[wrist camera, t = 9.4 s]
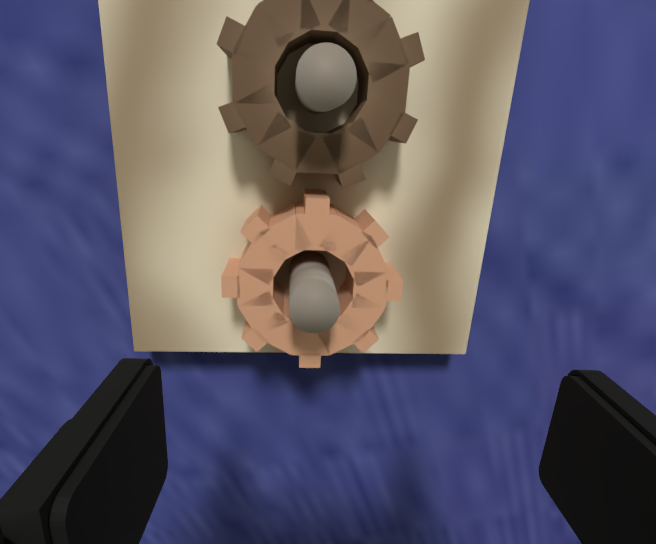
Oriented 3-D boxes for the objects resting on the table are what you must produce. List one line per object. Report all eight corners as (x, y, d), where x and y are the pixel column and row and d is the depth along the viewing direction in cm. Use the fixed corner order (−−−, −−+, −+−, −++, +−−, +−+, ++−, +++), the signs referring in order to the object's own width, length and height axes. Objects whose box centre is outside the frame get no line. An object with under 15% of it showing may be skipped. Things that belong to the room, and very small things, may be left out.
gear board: (507, -3, 18) (619, -70, 12) (451, 335, 23) (508, 410, 17) (115, -39, 16) (9, -137, 10) (148, 331, 22) (90, 412, 15)
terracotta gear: (397, 193, 18) (412, 202, 16) (381, 341, 21) (392, 368, 18) (228, 185, 18) (219, 194, 15) (231, 340, 20) (223, 367, 18)
